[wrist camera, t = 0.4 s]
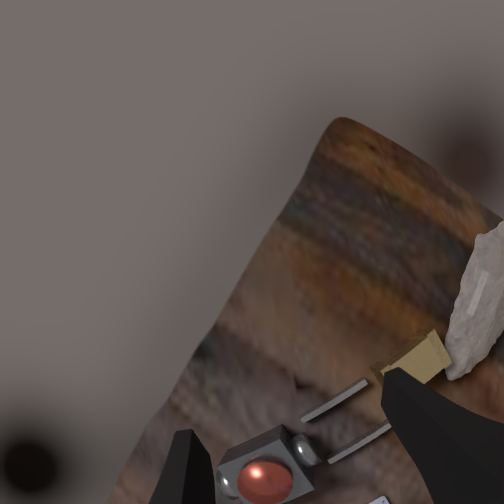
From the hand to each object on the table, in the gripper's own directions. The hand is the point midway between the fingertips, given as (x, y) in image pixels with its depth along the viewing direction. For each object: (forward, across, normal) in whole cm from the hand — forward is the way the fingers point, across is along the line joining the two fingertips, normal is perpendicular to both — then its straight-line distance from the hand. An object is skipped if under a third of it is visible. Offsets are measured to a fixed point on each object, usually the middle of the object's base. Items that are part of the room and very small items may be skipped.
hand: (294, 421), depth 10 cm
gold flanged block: (+17, -16, +20) cm, 31 cm away
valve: (+14, -1, +26) cm, 30 cm away
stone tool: (+18, -31, +17) cm, 39 cm away
